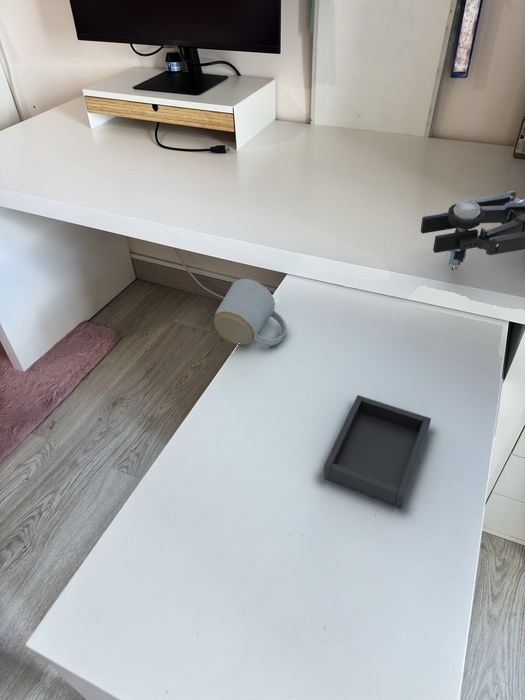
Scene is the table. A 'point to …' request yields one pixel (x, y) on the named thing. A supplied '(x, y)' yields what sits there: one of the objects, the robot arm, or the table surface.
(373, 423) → the tray
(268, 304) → the ceramic mug
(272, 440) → the table surface
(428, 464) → the table surface
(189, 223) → the table surface
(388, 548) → the table surface
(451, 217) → the push button
